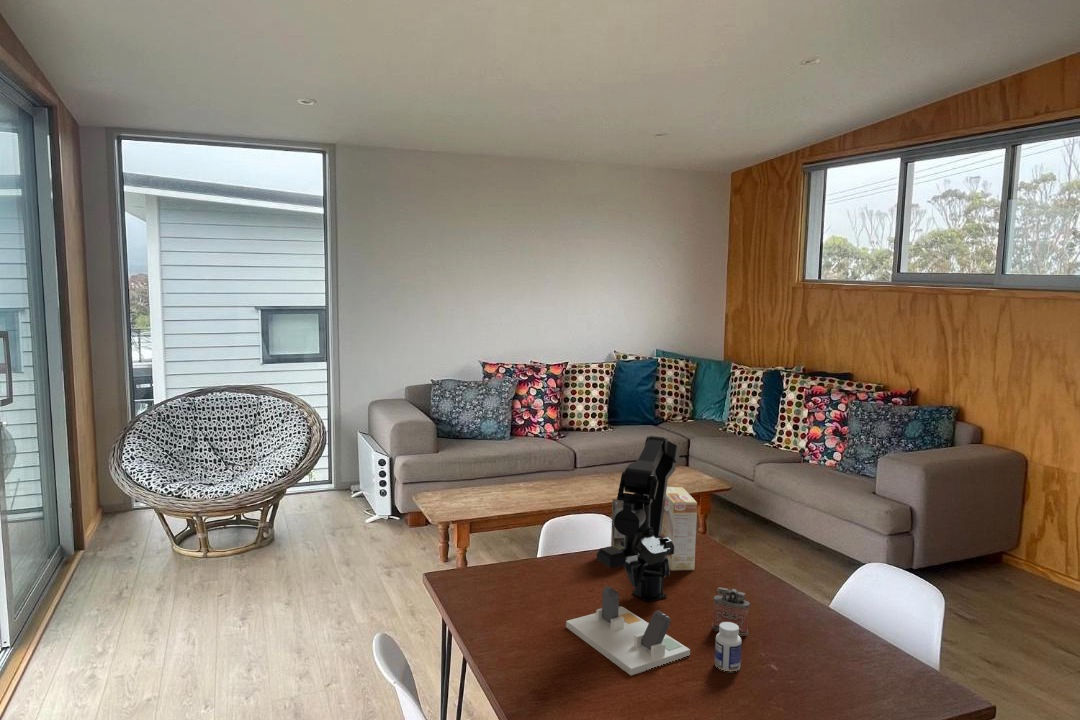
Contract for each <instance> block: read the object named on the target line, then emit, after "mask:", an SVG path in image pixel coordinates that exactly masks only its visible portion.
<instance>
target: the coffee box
mask: <svg viewBox="0 0 1080 720" xmlns="http://www.w3.org/2000/svg"><path fill="white" fill-rule="evenodd" d="M611 503H612V504H611V505H612V506H611V535H610V536H611V538H610V546H613V547H615V548H617V549H618V550H622V549H624V547H623V546H621V541H623V540H624V535H622V534H621V533H619V532H618V531H617V530H616V528H615V525H614V518H615V516H616V514H617V513H618V512H619V511H620V510H621V509H622V507H623V501H621V500H617V498H612V502H611Z"/></svg>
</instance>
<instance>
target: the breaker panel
mask: <svg viewBox="0 0 1080 720" xmlns="http://www.w3.org/2000/svg"><path fill="white" fill-rule="evenodd" d="M649 620H650V621H649V622H647V621H645V620H644V619H643V618H642V617H639V616H638V615H636V614H635V613H633V612H631V611H630V610H629V609H627V608H625V607H623V606H622V605H621V606H619V610H618V617H617V618H614V619H611V624H610V623H609V622H607V621H606V620H604V619H603V617H602V607H601V608H597V609H596V612H594V613H590V614H588V615H584V616H579V617H576V618H572V619H569V620H565V621H566V622H565V628H567V629H568V630H569V631H570V632H571V633H573V634H575V635H576V636H577V637H579V638H580V639H581V640H583V641H584V642H585V643H586V644H588V645H590V646H591V647H592V648H593V649H594V650H596V651H598V652H599V653H600V654H601V655H603V656H604V657H605V658H607V659H609V661H611V663H613V664H614V665H616V666H618V667H619V668H620V669H621V670H622V671H624V672H626V673H627V674H628V675H629V676H633V675H634V676H635V675H636V674H637V675H638V674H640V673H643V672H646V670H647V671H649V669H650V670H652V669H651V668H653V669H655V668H654V667H656V668H658V667H657V666H659V667H662V666H664V665H663V664H665V665H667V664H666V663H668V664H670V663H669V662H671V663H673V662H672V661H674V662H676V661H675V660H677V661H679V660H678V659H680V660H682V659H681V658H683V657H686V656H689V655H690V656H691V649H690V648H689V647H687V646H686V645H684V644H682V643H680V641H678V640H676V639H674V638H673V637H671V636H670V635H668V634H667V631H668V629H669V627H670V625H671V617H670V616H668V615H667V614H666V613H663V612H662V611H661V610H656V611H654V612H653V613H652V616H651V618H650V619H649ZM690 656H689V657H690ZM686 658H687V657H686ZM683 659H684V658H683ZM661 665H662V666H661Z"/></svg>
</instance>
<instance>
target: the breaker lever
mask: <svg viewBox="0 0 1080 720" xmlns="http://www.w3.org/2000/svg"><path fill="white" fill-rule="evenodd" d="M601 601H602V602H601V603H602V605H601V608H602V617H603V619H604V620H606V621H607V622H609V623H610V624H611V619H614V618H617V617H618V610H619V607H620V606H619V605H620V595H619V592H618V591H617V590H615V589H614V588H612V587H610V586H608V585H605V586H604V588H603V589H602V600H601Z"/></svg>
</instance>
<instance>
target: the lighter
mask: <svg viewBox="0 0 1080 720" xmlns="http://www.w3.org/2000/svg"><path fill="white" fill-rule="evenodd" d="M716 593H717V595H715V596H713V602H714V604H713V605H714V609H713V621H712V622H713V623H712V628H713V629H714V630H713V629H712V628H711V629H712V630H713V631H715V630H717V631H716V632H718V631H719V625H720V623H722V622H732V623H735V624H737V625H738V626H739V634H738V635H747V634H748V635H749V630H748V629H749V628H748V625H749V612H750V611H749V608H750V606H751V605H750V602H749V601H747V600H745V597H746V593H745V592H742V591H738V590H737V589H736V588H732V589H729V588H725V587H718V588H717V592H716Z"/></svg>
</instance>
